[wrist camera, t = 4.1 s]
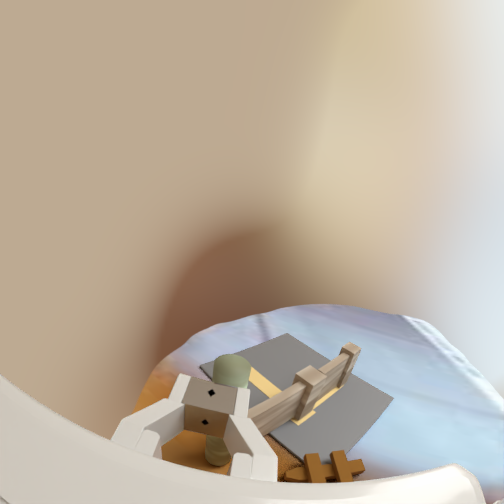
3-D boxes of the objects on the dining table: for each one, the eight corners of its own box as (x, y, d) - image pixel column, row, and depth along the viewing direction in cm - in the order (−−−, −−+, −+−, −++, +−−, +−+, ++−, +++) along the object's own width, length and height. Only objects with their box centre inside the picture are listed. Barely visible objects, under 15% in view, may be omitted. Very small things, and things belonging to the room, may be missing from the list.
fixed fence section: (346, 382, 41) (361, 348, 39) (313, 408, 35) (329, 372, 33) (335, 376, 43) (349, 341, 41) (302, 399, 37) (316, 363, 35)
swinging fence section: (311, 411, 34) (346, 324, 30) (215, 470, 23) (229, 382, 19) (296, 400, 36) (327, 313, 32) (199, 452, 25) (206, 360, 21)
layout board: (392, 399, 38) (393, 397, 37) (322, 476, 24) (323, 474, 23) (286, 334, 56) (287, 332, 55) (199, 367, 42) (200, 364, 42)
